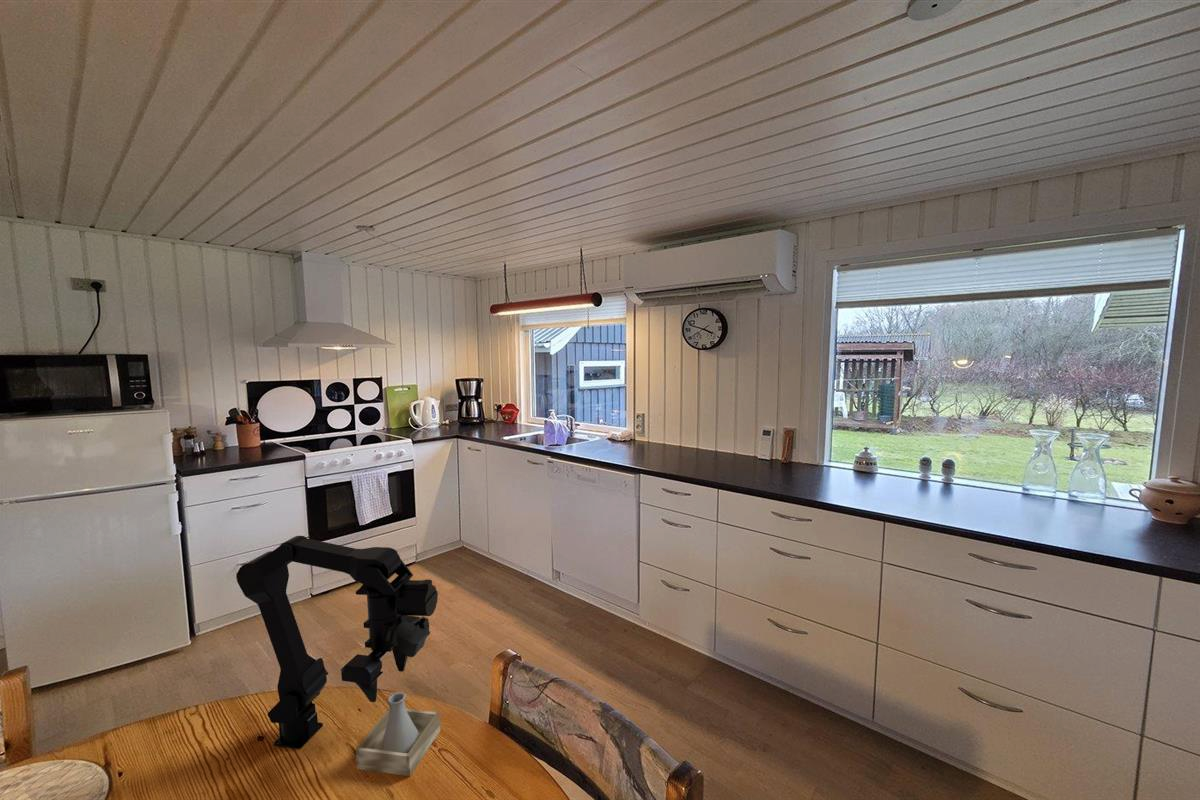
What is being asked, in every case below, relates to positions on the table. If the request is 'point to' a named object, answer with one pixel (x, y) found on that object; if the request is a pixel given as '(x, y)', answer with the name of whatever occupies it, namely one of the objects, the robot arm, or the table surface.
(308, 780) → the table surface
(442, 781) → the table surface
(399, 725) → the flask
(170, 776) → the table surface
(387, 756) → the crate
